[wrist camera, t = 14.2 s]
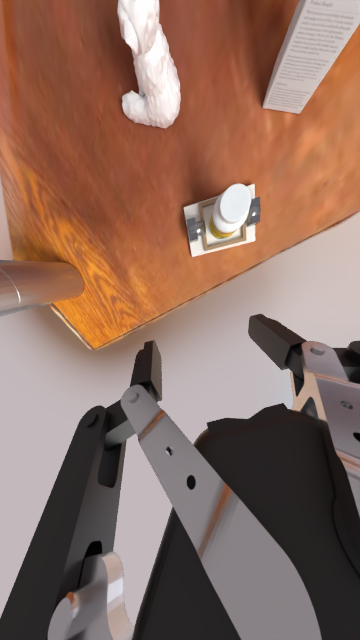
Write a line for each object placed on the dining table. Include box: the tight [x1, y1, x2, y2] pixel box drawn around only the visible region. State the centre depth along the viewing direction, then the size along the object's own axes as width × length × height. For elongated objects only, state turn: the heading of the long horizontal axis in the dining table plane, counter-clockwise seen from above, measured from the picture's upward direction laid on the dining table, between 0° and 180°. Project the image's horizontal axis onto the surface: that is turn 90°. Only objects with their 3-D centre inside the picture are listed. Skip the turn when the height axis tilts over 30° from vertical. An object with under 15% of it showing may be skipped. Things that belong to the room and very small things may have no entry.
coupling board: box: [184, 184, 255, 257], centre depth 26 cm, size 13×9×2 cm
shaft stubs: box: [187, 197, 260, 243], centre depth 25 cm, size 13×4×2 cm, turn 103°
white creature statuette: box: [117, 0, 181, 128], centre depth 16 cm, size 10×9×12 cm
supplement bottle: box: [209, 184, 251, 239], centre depth 21 cm, size 5×5×10 cm
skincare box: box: [262, 0, 360, 114], centre depth 14 cm, size 6×4×12 cm
